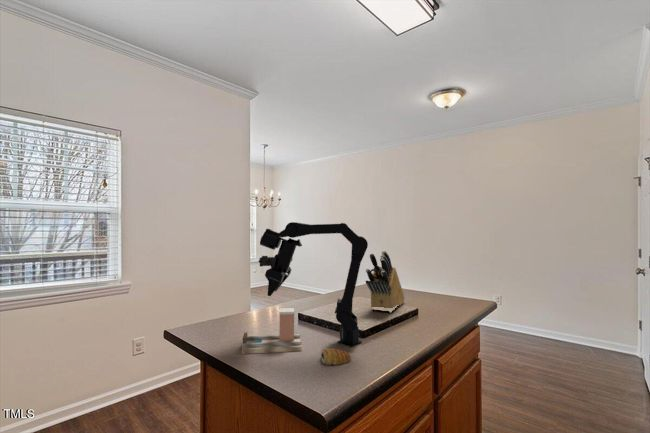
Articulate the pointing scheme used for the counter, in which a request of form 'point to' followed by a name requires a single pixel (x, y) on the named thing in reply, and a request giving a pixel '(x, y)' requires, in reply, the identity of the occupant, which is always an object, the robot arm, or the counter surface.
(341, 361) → the pastry
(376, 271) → the knife block
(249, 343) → the track
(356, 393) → the counter surface
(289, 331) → the pink tall block
